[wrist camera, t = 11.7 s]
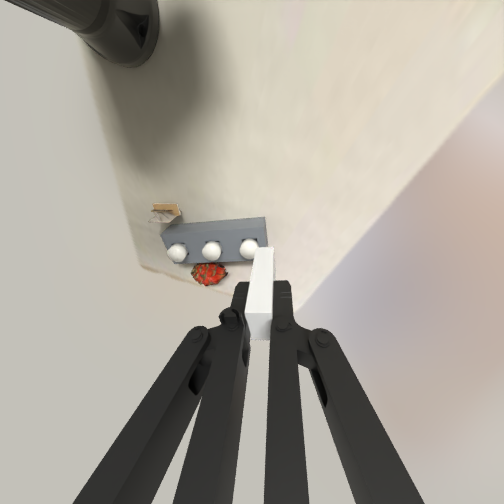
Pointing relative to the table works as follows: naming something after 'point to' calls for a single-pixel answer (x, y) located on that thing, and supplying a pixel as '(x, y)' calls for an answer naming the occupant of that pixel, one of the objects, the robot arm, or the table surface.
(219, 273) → the dragon fruit
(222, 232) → the mount
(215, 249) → the knob mid
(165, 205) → the architectural model
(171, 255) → the knob far
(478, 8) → the table surface
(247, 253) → the knob near
